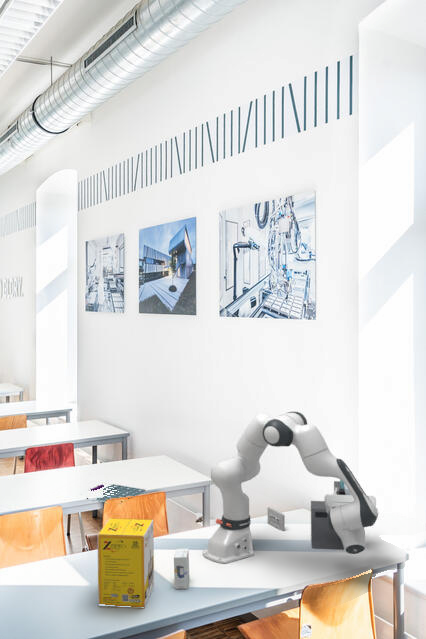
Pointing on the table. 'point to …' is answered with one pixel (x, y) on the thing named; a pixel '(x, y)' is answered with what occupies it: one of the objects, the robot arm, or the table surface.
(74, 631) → the table surface
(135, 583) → the packaging box
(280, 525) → the cassette
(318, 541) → the rack
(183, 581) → the ink box
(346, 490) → the plug
